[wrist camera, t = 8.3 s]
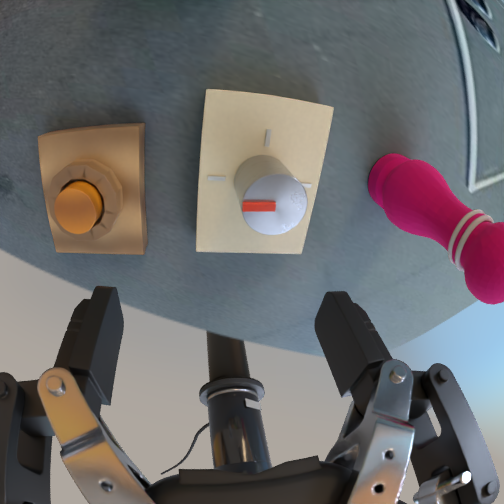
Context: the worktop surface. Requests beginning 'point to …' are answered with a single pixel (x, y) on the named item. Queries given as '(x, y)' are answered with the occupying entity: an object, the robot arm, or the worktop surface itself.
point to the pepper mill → (442, 221)
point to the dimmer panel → (246, 146)
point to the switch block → (98, 185)
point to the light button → (78, 207)
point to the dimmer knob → (269, 195)
